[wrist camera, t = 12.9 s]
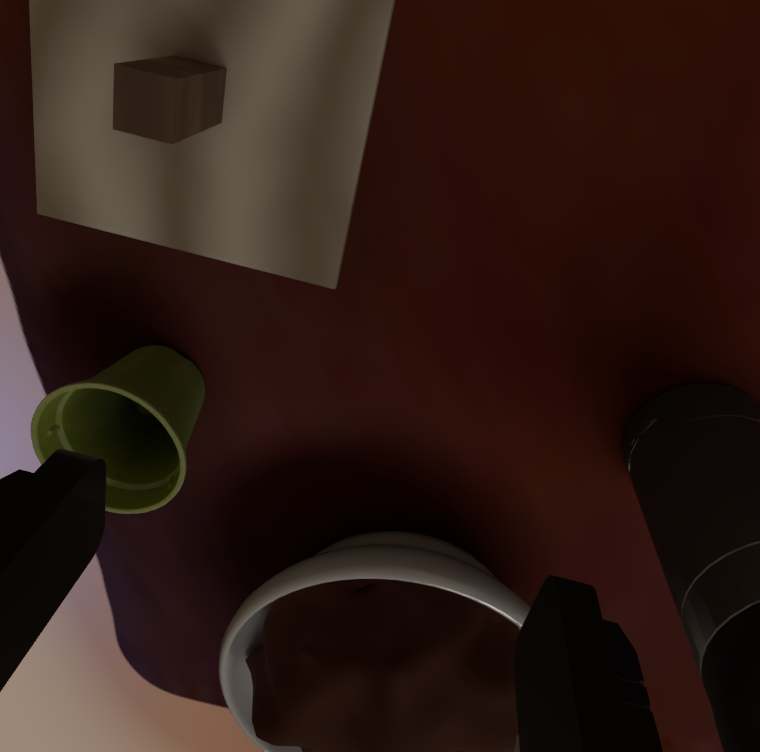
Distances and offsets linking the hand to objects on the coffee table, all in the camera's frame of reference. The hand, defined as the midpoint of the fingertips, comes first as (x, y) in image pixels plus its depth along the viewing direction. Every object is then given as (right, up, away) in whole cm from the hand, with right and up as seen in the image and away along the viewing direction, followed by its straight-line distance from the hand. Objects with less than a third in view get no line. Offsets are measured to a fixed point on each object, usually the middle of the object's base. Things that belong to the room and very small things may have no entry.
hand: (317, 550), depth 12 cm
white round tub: (+3, -15, +43) cm, 45 cm away
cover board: (-7, +17, +19) cm, 27 cm away
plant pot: (-14, +3, +35) cm, 38 cm away
